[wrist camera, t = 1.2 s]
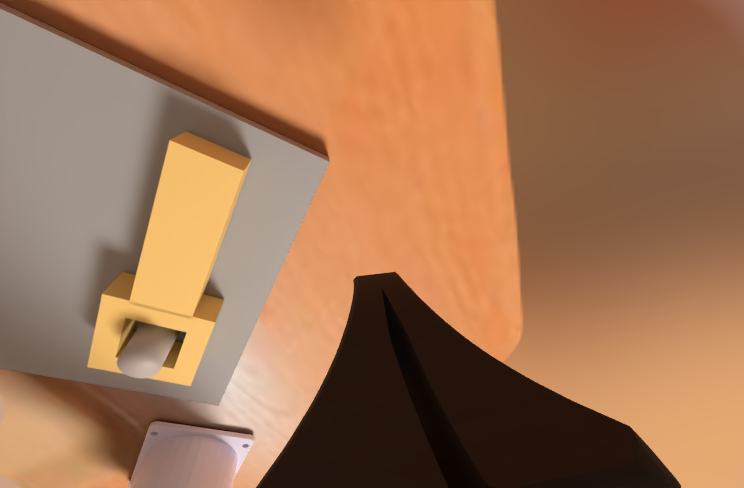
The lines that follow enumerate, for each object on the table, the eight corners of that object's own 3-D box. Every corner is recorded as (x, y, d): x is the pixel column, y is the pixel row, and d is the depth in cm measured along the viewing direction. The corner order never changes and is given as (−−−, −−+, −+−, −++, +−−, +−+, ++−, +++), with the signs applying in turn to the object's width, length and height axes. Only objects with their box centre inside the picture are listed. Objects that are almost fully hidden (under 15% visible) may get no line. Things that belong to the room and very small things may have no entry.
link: (200, 360, 22) (190, 386, 20) (107, 340, 20) (87, 366, 18) (275, 169, 16) (270, 182, 15) (157, 119, 15) (136, 126, 13)
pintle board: (221, 393, 25) (199, 471, 20) (-76, 339, 19) (-205, 429, 14) (329, 157, 18) (333, 191, 13) (-101, -45, 12) (-379, -118, 7)
